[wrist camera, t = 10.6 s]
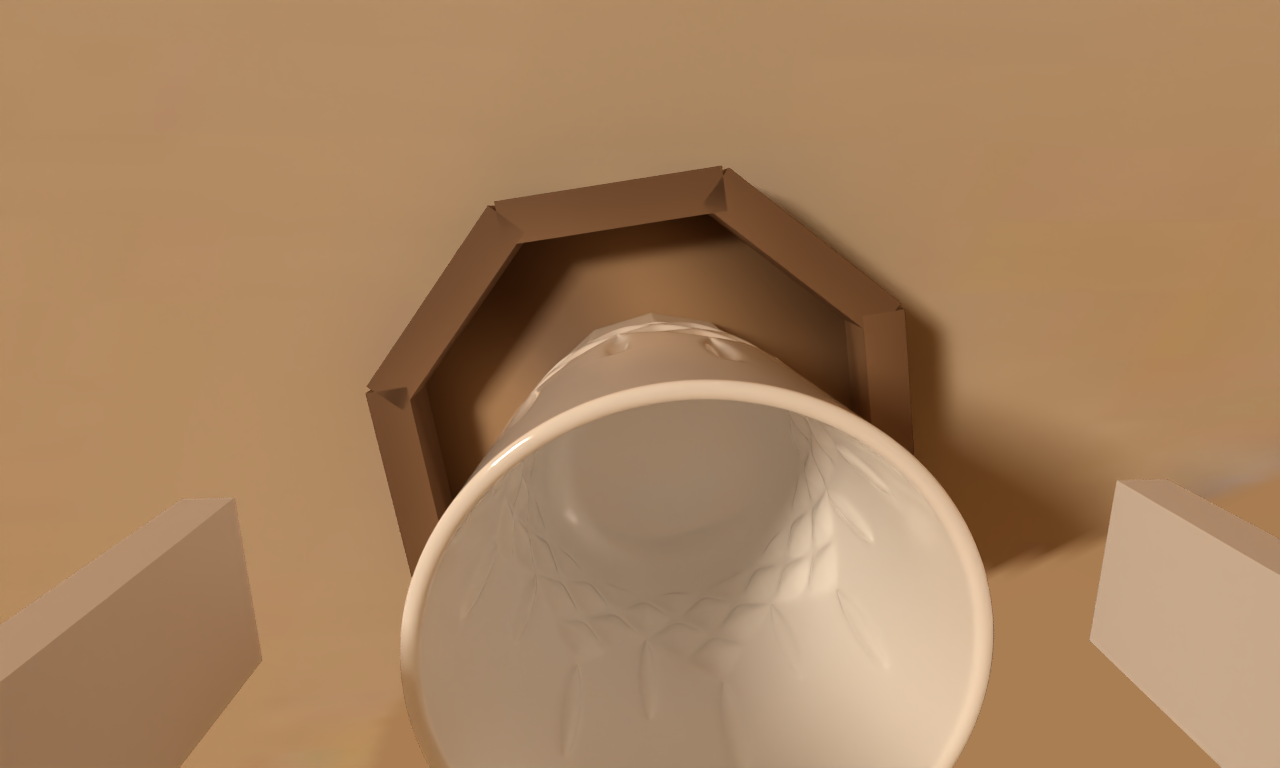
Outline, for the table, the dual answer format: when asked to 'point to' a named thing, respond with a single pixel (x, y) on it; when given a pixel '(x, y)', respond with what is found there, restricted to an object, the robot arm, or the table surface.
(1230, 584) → the robot arm
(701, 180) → the coaster ring
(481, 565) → the white cup
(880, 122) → the table surface
